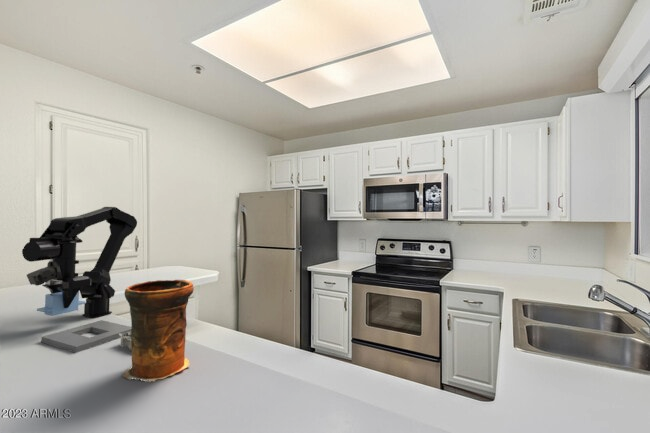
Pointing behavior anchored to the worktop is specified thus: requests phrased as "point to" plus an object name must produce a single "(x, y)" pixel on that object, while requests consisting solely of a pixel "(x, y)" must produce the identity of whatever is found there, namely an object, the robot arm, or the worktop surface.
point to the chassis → (77, 342)
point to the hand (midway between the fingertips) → (62, 307)
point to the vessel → (158, 328)
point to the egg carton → (126, 339)
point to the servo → (59, 304)
